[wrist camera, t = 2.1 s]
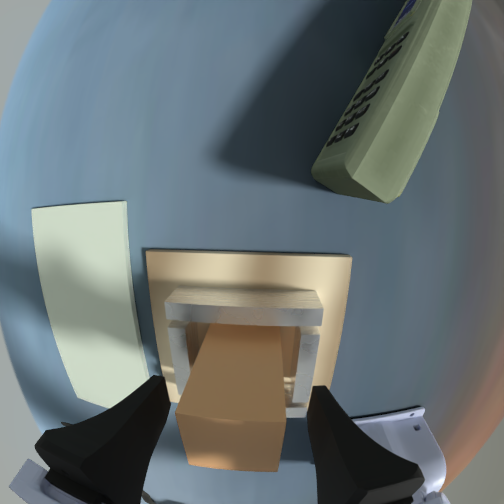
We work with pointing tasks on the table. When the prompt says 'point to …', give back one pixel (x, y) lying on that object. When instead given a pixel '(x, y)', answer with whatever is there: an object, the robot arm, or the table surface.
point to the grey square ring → (247, 313)
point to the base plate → (252, 277)
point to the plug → (235, 400)
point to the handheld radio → (395, 103)
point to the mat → (91, 297)
